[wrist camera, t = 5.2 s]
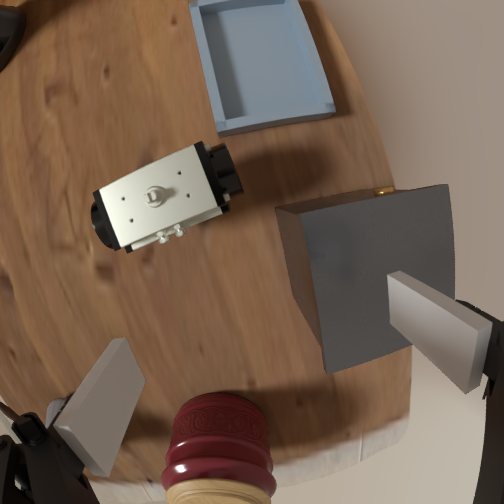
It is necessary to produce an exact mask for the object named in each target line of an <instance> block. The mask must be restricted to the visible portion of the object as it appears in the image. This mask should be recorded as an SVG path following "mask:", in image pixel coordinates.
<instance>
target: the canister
mask: <svg viewBox="0 0 504 504" xmlns="http://www.w3.org/2000/svg"><path fill="white" fill-rule="evenodd" d="M268 437H269V430H268V424H267V422H266V419H265V418H264V415H263V414H262V412H261V411H260V409H259V408H258V407H257V406H256V405H254V404H253V403H251V402H250V401H248V400H246V399H244V398H241V397H238V396H235V395H230V394H222V393H213V394H205V395H201V396H198V397H195V398H193V399H191V400H189V401H188V402H186V403H185V404H184V405H183V406H182V407H181V408H180V410H179V412H178V413H177V415H176V417H175V419H174V423H173V434H172V438H171V442H170V447H169V450H168V452H167V454H166V466H167V468H166V469H165V470H164V471H163V473H162V475H161V483H162V485H163V487H164V489H165V490H166V496H165V497H166V501H167V502H168V504H271V499H270V498H271V497H272V496H273V494H274V493H275V490H276V487H277V484H276V480H275V478H274V477H273V475H272V474H271V473H272V471H273V460H272V458H271V454H270V447H269V440H268Z"/></svg>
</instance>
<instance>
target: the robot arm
mask: <svg viewBox="0 0 504 504" xmlns="http://www.w3.org/2000/svg"><path fill="white" fill-rule="evenodd" d="M25 25H26V16H25V14H24V12H22V11H21V10H20V9H18V8H17V7H14V6H5V5H0V71H1V70H2V68H3V67H4V66H5V64H6V63H7V62H8V60H9V59H10V57H11V56H12V54H13V53H14V51H15V49H16V47H17V45H18V44H19V42H20V39H21V37H22V35H23V32H24V29H25ZM387 279H388V293H389V311H390V324H391V325H392V326H393V327H394V328H396V329H397V330H398V331H399V332H400V333H401V334H402V335H403V336H404V337H405V338H407V339H408V340H409V341H410V342H411V343H412V344H413V345H414V346H415V347H416V348H417V349H419V350H420V351H421V352H422V353H423V354H424V355H425V356H426V357H427V358H428V359H429V360H430V361H431V362H432V363H433V364H435V366H437V367H438V368H439V369H440V370H441V371H442V372H443V373H444V374H445V375H446V376H447V377H448V378H449V379H450V380H451V381H452V382H453V383H454V384H456V386H457V387H459V389H460V390H461V391H463V392H464V394H467V393H469V392H470V391H472V390H473V389H475V388H476V387H478V386H480V382H481V378H482V374H483V373H484V374H485V375H486V376H488V381H487V385H486V388H485V392H484V395H483V399H485V397H486V395H487V397H486V422H485V434H484V445H483V452H482V460H481V467H480V472H479V478H478V483H477V488H476V492H475V497H474V501H473V504H504V321H503V322H501V321H500V320H498V319H496V318H494V317H493V316H491V315H489V314H487V313H485V312H484V311H481V310H480V309H479V308H477V307H476V308H475V306H473V305H471V304H469V303H468V302H465V301H461V300H453V299H451V298H449V297H448V296H446V295H444V294H442V293H440V292H439V291H437V290H435V289H433V288H431V287H430V286H428V285H426V284H424V283H422V282H420V281H418V280H417V279H415V278H413V277H411V276H409V275H407V274H405V273H403V272H402V271H397V272H394V273H391V274H387ZM145 382H146V381H145V379H144V377H143V375H142V372H141V370H140V368H139V366H138V364H137V362H136V360H135V357H134V355H133V353H132V351H131V349H130V346H129V344H128V342H127V339H126V337H123V338H117V339H113V340H112V341H111V342H110V344H109V345H108V346H107V348H106V349H105V351H104V352H103V353H102V355H101V356H100V357H99V359H98V360H97V362H96V363H95V364H94V366H93V367H92V369H91V370H90V371H89V373H88V374H87V376H86V377H85V378H84V380H83V381H82V383H81V384H80V386H79V387H78V389H77V390H76V391H75V392H74V393H73V394H71V395H70V396H69V397H68V398H67V400H66V401H65V403H64V404H63V405H64V406H62V407H61V409H60V410H59V411H60V412H58V413H57V414H56V416H55V417H54V419H53V420H52V422H51V423H50V425H49V427H48V428H46V427H45V426H44V424H43V423H42V421H41V420H40V419H39V417H38V416H37V414H36V413H33V412H28V413H25V414H23V415H21V416H19V417H18V418H17V419H16V420H15V421H14V422H13V424H12V427H11V429H12V430H13V431H14V433H15V434H16V435H17V437H18V438H19V439H20V441H21V442H22V443H21V444H16V443H15V442H14V441H13V440H12V438H11V437H10V436H9V435H2V436H0V504H100V503H99V501H98V499H97V497H96V495H95V493H94V491H93V489H92V487H91V485H90V483H89V481H88V479H87V477H86V476H85V475H84V474H83V472H82V471H83V469H84V467H86V468H87V469H88V470H89V471H90V472H91V473H92V474H93V475H96V476H105V477H109V476H110V473H111V470H112V467H113V464H114V462H115V459H116V456H117V454H118V451H119V448H120V445H121V443H122V440H123V437H124V435H125V432H126V430H127V427H128V424H129V422H130V419H131V417H132V414H133V412H134V409H135V407H136V404H137V402H138V399H139V397H140V394H141V392H142V389H143V387H144V385H145ZM15 480H16V481H17V482H18V483H19V484H20V485H21V490H20V489H18V488H17V487H16V486H15Z"/></svg>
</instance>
